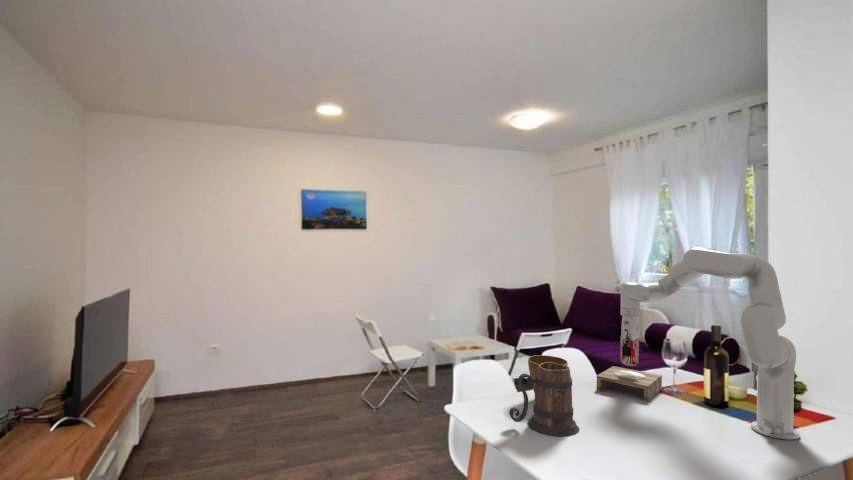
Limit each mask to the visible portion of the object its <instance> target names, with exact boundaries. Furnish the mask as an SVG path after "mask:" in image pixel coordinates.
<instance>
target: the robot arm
mask: <svg viewBox="0 0 853 480" xmlns="http://www.w3.org/2000/svg"><path fill="white" fill-rule="evenodd" d="M668 271H669V273H668V274H667V275H665V276H664V277H663V278H660V279H659V280H657V281H655V282H651V283H650V282H649V283H638V282H631V281H630V282H627V281H626V282H622V283H621V284H620V316H622V317H621V327H620V328H621V329H620V330H621V334H620V335H621V338H622V340H623V341H622V342H623V344H622V355H623V356H628V357H630V356H631V347H630V344H631V340H632V341H634V340H636V339H637V338H638V339H640V338H641V333H640V332H641V331H640V316H641V303H645V304H646V303H652V302H660V301H662V300H664V299H666V298H668V297H670V296H672V295H673V294H675V293H677V292H679V291H680V290H681V289H682V288H684V287H685V286H686V285H687V284H690V283H692V282H693V281H695V280H696V279H698V278H700V277H702V276H703V275H704V276H705V275H709V276H715V277H717V278H718V277H719V278H724V279H732V280H733V279H734V280H735V279H742V278H744V279H746V280H747V282H748V283H747V285H748V286H747V291H748V296H749V302H750V305H748V306H746V307H745V308H744V309H743V310H742V312H741V316H740V323H741V329H742V335H743V336H742V337H743V341H744V345H745V351H746V354H747V357H748V359H749V360H750V362H752V364H754V365H756V366H757V373H756V374H757V375H756V420H755V421H752V422H751V423H750V428H751V429H752V430H753V431H755V432H757V433H758V434H761V435H764V436H767V437H770V438H775V439H779V440H780V439H781V440H789V441H790V440H793V441H794V440H797V439H799V438H800V432H799V431H798V430H796V429H795V428H794V396H795V395H794V394H795V393H794V390H795V389H794V387H795V386H794V385H795V368H796V364H797V363H796V362H797V361H796V360H797V350H796V346H795V345H794V344H793V342H792V341H791V339H788V337H786V336H783V335H779V331H778V330H780V329H781V328H783V327H784V326H785V324H786V320H787V318H786V313H785V309H784V308H785V307H784V304H783V298H782V293H781V289H780V286H779V285H780V284H779V282H778V281H779V280H778V276H777V272H776V271H775V268H774V267H773V265H772V264H771V263H770V262H768V260H766V259H765V258H763V257H761V256H758V255H756V254H755V255H754V254H752V253H751V254H750V253H744V252H743V253H739V252H737V253H728V252H722V251H716V250H715V249H712V248H710V247H693V248H690V249H688V250H687V251H686V252H685V253H684V254H683V256H682V259H680V260H678V261H677V262H676V263H673V264H672V265H670V267H669V270H668ZM626 338H630V339H626ZM628 341H629V342H628Z"/></svg>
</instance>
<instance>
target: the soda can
mask: <svg viewBox="0 0 853 480" xmlns="http://www.w3.org/2000/svg"><path fill="white" fill-rule="evenodd" d="M626 339H630V338H626ZM622 341H623V340H622V337H621V338H620V346H619V347H620V348H619V349H620V350H619V351H620V363H621V364H623V365H624V366H629V367H635V366H637V365H638V364H639V357H640V341H639V338H637V339H636V340H634V341H632V340H631V344H630V347H631V356H630V357H628V356H623V355H622V344H623V342H622ZM628 342H629V341H628Z"/></svg>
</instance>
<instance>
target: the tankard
mask: <svg viewBox="0 0 853 480" xmlns="http://www.w3.org/2000/svg"><path fill="white" fill-rule="evenodd" d="M571 375H572V374H571V369H570V367H569V366H568V365H567V366H566V365H562V364H557V363H553V362H544V363H541V364H539V365H538V369H537V374H536V376H535V380H533V378H532V377H531V376H530V374H528V373H526V372H524V373H522V374H520V375H519V376H518V378H517V382H518V387H519V388H520V390H521V392H522V395H523V408H522V411H521V413H520V410H519V409H518V407H513V406H512V407H510V409H509V412H508V413H509V417H510V418H511V420H513V421H514V422H515V423H520V422H522V421H524V419H526V416H527V414H528V410H529V397H528V393H527V391H526V389H525V387H524V384H523V382H524V381H523V380H524V379H525V378H526V382H527V384H526V388H527V390H529V389H532V388H533V385H534V383H536V385H535V393H534V403H533V405H532V411H533V415H531V417H530V419H528V421H527V423H526V424H527V427H528V428H529V429H530V430H531V431H534V432H535V433H537V434H540V435H544V436H547V437H548V436H549V437H555V438H556V437H557V438H568V437H572V436H575V435H577V434H579V432H580V430H581V429H580V427H579V426H578V425H577V423H576V420H574V417H573V416H574V407H573V392H572V391H573V390H572V389H573V387H572V386H573V378H572V376H571ZM515 412H516V413H515Z"/></svg>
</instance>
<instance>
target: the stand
mask: <svg viewBox="0 0 853 480" xmlns="http://www.w3.org/2000/svg"><path fill="white" fill-rule="evenodd" d="M662 377H663V375H662V374H658V373H657V374H656V373H653V372H647V371H641V370H635V369H631V368H625V367H620V366H613V365H612V366H610V367H609V368H607V369H605V370H604V371H602V372H600V373H599V374H597V375H596V391H600V392H601V391H602V390H604V389H605V388H607V387H609V386H610V385H611V384H613V383H617V384H621V385H627V386H630V387H635V388H641V389H643V401H644V402H650V400H652V399H653V398H654V397H655V396H656V395H657V394H658V393H660V392H661V391H662V386H663V378H662Z"/></svg>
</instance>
